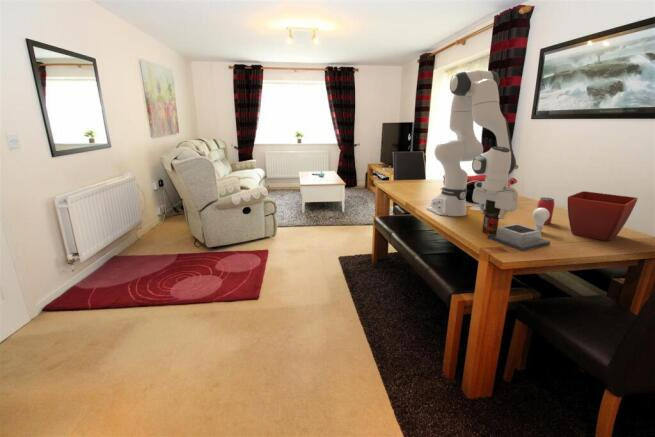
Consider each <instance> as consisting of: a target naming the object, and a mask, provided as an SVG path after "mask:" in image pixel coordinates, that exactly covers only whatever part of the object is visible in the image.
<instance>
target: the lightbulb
mask: <svg viewBox="0 0 655 437" xmlns="http://www.w3.org/2000/svg"><path fill="white" fill-rule="evenodd" d="M549 216H550V213H549V211H548V210H547V209H545V208H537V207H536V208H535V209H534V210H533V212H532V217H533V220H534V223H535V228H534V229H536V230H540V231H541V232H543V231H542V230H543V226H544V225H545V224H544V223H545V221H547V220H548V218H549Z"/></svg>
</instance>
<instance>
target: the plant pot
mask: <svg viewBox="0 0 655 437" xmlns="http://www.w3.org/2000/svg"><path fill="white" fill-rule="evenodd" d="M638 199H639V198H638V197H634V196H626V195H618V194H610V193H602V192H595V191H594V192H593V191H587V190H586V191H585V190H584V191H583V190H582V191H579V192H576V193H574V194H572V195H569V196H567V216H568V222H569V226H570V227H569V228H570V232H571V234H572V235H576V236H581V237H584V238H585V237H586V238H590V239H594V240H600V241H605V242H609V241H610V240H612V239H613V238H615V237H616V236H618V235H619V233H620V232H621V230H623V228H624V226H625V224H626V223H627V221H628V219H629V217H630V215H631V214H632V212H633V210H634V208H635V206H636V204H637V202H638Z"/></svg>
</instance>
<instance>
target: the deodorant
mask: <svg viewBox="0 0 655 437" xmlns="http://www.w3.org/2000/svg"><path fill="white" fill-rule="evenodd" d="M484 209H485V214H483V223H482V230H481V233H482V234H484V233H485V235H488V234H496V233H498V227H499V221H500V219H498V215H500V214H501V209H499V208H495V202H494V201H490V200H486V205H485V206H484Z"/></svg>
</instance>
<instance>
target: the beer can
mask: <svg viewBox="0 0 655 437" xmlns="http://www.w3.org/2000/svg"><path fill="white" fill-rule="evenodd" d="M537 208H545V209H547V210H548V211H549V213H550V216H549V218H548V220H547V221H545V223H544V225H549V224H551V223H552V218H553V215H554V214H553V213H554V209H555V199H554V198H552V197H545V196H544V197H543V196H542V197H540V199H539V200H538V202H537V207H536V209H537Z"/></svg>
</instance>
